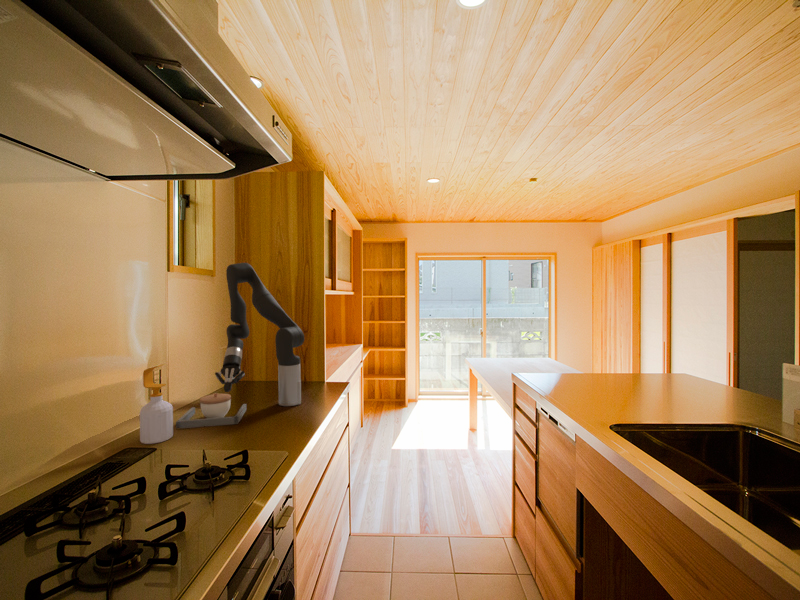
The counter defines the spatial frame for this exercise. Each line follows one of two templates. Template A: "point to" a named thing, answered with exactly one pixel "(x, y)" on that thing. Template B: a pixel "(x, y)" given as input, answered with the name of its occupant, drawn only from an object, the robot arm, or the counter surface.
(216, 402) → the lidded jar
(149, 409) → the soap bottle
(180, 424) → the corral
